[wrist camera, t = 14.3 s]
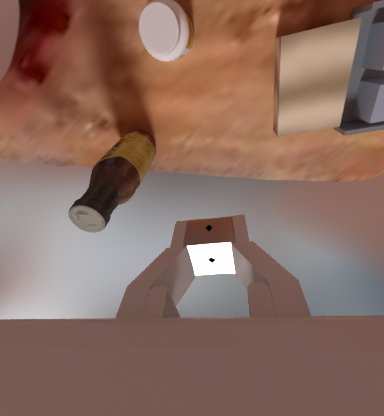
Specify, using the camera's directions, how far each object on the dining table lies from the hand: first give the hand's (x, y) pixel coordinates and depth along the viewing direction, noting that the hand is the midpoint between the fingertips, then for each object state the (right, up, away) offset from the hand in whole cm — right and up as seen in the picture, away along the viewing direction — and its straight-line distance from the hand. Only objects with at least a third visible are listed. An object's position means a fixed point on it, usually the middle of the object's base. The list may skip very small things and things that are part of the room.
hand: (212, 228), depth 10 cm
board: (+15, +19, +20) cm, 32 cm away
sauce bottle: (-10, +12, +29) cm, 33 cm away
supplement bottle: (-3, +24, +19) cm, 31 cm away
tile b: (+22, +15, +19) cm, 33 cm away
